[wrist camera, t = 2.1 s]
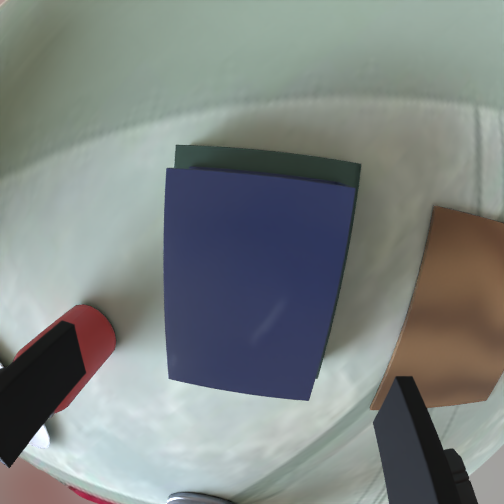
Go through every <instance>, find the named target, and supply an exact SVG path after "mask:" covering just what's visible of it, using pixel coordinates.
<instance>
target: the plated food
mask: <svg viewBox="0 0 504 504" xmlns="http://www.w3.org/2000/svg"><path fill="white" fill-rule="evenodd" d="M3 367H4V366H3V365H2V364H1V363H0V369H1V368H3ZM29 444H31V445H32V446H35V447H38V448H47V447H48V446H49V444H50V436H49V433H48V431H47V428H46V426H45V424H43V426H42V427H41V428H40V429H39V431H38V432H37V433H36V434H35V436H34V437H33V438H32V439H31V441H30V442H29Z"/></svg>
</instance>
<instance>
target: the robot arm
mask: <svg viewBox="0 0 504 504" xmlns="http://www.w3.org/2000/svg"><path fill="white" fill-rule="evenodd" d="M85 374H86V369H85V366H84V362H83V358H82V354H81V350H80V346H79V342H78V338H77V333H76V329H75V324H72V323H69V322H66V321H63V320H61V321H60V322H59V323H58V324H57V325H55V326H54V327H53V328H52V329H51V330H49V331H48V332H47V333H46V334H45V335H43V336H42V337H41V338H40V339H39V340H37V341H36V342H35V343H34V344H33V345H32V346H30V347H29V348H28V349H27V350H26V351H25V352H23V353H22V354H21V355H20V356H19V357H18V358H17V359H16V360H14V361H13V362H12V363H11V364H10V365H9V366H8V367H7V368H5V367H3V368H1V369H0V461H1V462H2V463H3V464H4V465H6V466H7V467H8V468H10V467H11V465H12V464H13V463H14V462H15V460H16V459H17V458H18V456H19V455H20V454H21V452H22V451H23V450H24V448H25V447H26V446H27V445H28V443H29V442H30V441H31V439H32V438H33V437H34V436H35V434H36V433H37V432H38V431H39V429H40V428H41V427H42V426H43V424H44V423H45V422H46V421H47V419H48V418H49V417H50V416H51V414H52V413H53V412H54V411H55V410H56V408H57V407H58V406H59V405H60V404H61V402H62V401H63V400H64V399H65V397H66V396H67V395H68V394H69V393H70V392H71V390H72V389H73V388H74V387H75V386H76V384H77V383H78V382H79V381H80V380H81V379H82V377H83V376H84V375H85ZM373 425H374V429H375V434H376V438H377V443H378V447H379V452H380V457H381V462H382V467H383V472H384V477H385V482H386V488H387V493H388V499H389V504H478V502H477V499H476V496H475V493H474V490H473V487H472V485H471V482H470V481H469V476H468V474H467V471H465V470H466V468H465V466H464V463H463V461H462V458H461V457H460V456H459V455H458V453H457V452H456V451H455V450H454V449H453V448H452V449H447V450H443V447H442V445H441V442H440V440H439V437H438V434H437V432H436V429H435V427H434V424H433V422H432V420H431V417H430V415H429V412H428V410H427V408H426V405H425V403H424V401H423V399H422V396H421V394H420V392H419V389H418V387H417V385H416V383H415V381H414V378H413V376H396V377H395V379H394V381H393V383H392V385H391V388H390V390H389V392H388V394H387V396H386V398H385V400H384V402H383V404H382V406H381V408H380V410H379V412H378V414H377V416H376V418H375V419H374V421H373ZM166 504H234V503H232V502H229V501H227V500H224V499H220V498H217V497H213V496H208V495H203V494H197V493H184V492H183V493H174V494H171V495H170V496H169V498H168V500H167V503H166Z"/></svg>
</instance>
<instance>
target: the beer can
mask: <svg viewBox="0 0 504 504" xmlns="http://www.w3.org/2000/svg"><path fill="white" fill-rule="evenodd" d="M61 320H63V321H66V322H69V323H72V324H75V329H76V333H77V338H78V342H79V346H80V350H81V354H82V358H83V362H84V366H85V369H86V374H85V375H84V376H83V377H82V379H81V380H80V381H79V382H78V383H77V384H76V386H75V387H74V388H73V389H72V390H71V392H70V393H69V394H68V395H67V396H66V397H65V399H64V400H63V401H62V402H61V404H60V405H59V406H58V407H57V408H56V410H55V411H54V412H53V413H52V414H51V416H50V417H52V416H53V415H54V414H55V413H57V412H60V411H62V410H64V409H65V408H66V407H68V406H69V405H70V403H71V402H72V401H73V400H74V398H75V397H76V396H77V395H78V393H79V392H80V391H81V390H82V389H83V387H84V386H85V385H86V384H87V382H88V381H89V380H90V379H91V378H92V376H93V375H94V374H95V373H96V372H97V370H98V369H99V368H100V367H101V366H102V364H103V363H104V362H105V361H106V360H107V359H108V357H109V356H110V355H111V354H112V352H113V351H114V350H115V345H116V338H115V332H114V330H113V328H112V326H111V324H110V322H109V321H108V320H107V318H106V317H105V316H104V315H103V314H102V313H101V312H100V311H98V310H97V309H95V308H93V307H91V306H88V305H84V304H82V305H76V306H74V307H73V308H72V309H70V310H69V311H68V312H66V313H65V314H64V315H63V316H61V317H60V318H59V319H58V320H56V321H55V322H54V323H52V324H51V325H50V326H49V327H47V328H46V329H45V330H44V331H43V332H41V333H40V334H39V335H38V336H36V337H35V338H34V339H33V340H32V341H30V342H29V343H28V344H27V345H26V346H24V347H23V348H22V349H21V350H20V351H19V352H18V353H17V354H16V356H15V358H14V360H16V359H17V358H18V357H19V356H20V355H21V354H22V353H23V352H25V351H26V350H27V349H28V348H29V347H30V346H32V345H33V344H34V343H35V342H36V341H37V340H39V339H40V338H41V337H42V336H43V335H45V334H46V333H47V332H48V331H49V330H51V329H52V328H53V327H54V326H55V325H57V324H58V323H59V322H60V321H61ZM14 360H13V361H14ZM50 417H49V418H50Z"/></svg>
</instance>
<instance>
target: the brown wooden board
mask: <svg viewBox="0 0 504 504" xmlns="http://www.w3.org/2000/svg"><path fill="white" fill-rule="evenodd" d="M503 371H504V223H502V222H499V221H495V220H491V219H488V218H484V217H480V216H476V215H472V214H469V213H465V212H460V211H456V210H452V209H448V208H444V207H439V206H435V205H434V206H433V212H432V217H431V223H430V228H429V233H428V237H427V242H426V246H425V251H424V255H423V259H422V263H421V267H420V271H419V275H418V278H417V282H416V286H415V289H414V293H413V296H412V299H411V303H410V306H409V309H408V312H407V315H406V318H405V321H404V324H403V327H402V330H401V333H400V336H399V338H398V341H397V344H396V347H395V349H394V352H393V355H392V357H391V360H390V362H389V365H388V367H387V370H386V372H385V374H384V377H383V379H382V381H381V384H380V386H379V388H378V391H377V393H376V395H375V397H374V399H373V401H372V404H371V406H370V410H380V408H381V406H382V404H383V402H384V400H385V398H386V396H387V394H388V392H389V390H390V388H391V385H392V383H393V381H394V379H395V377H396V376H413V378H414V381H415V383H416V385H417V387H418V389H419V392H420V394H421V396H422V399H423V401H424V403H425V405H426V408H432V407H442V406H451V405H460V404H467V403H474V402H480V401H486V400H487V399H488V397H489V395H490V394H491V392H492V390H493V389H494V387H495V385H496V383H497V382H498V380H499V378H500V376H501V375H502V373H503Z"/></svg>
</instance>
